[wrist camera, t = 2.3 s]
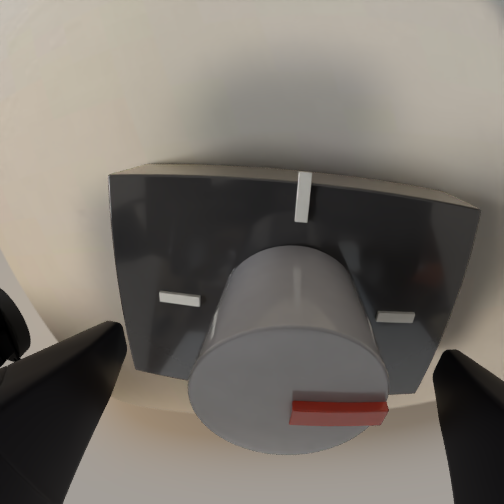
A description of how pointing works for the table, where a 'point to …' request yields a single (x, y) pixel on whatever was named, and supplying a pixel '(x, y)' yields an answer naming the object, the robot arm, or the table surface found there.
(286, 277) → the hob knob
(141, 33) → the table surface
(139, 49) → the table surface
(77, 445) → the robot arm
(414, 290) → the panel
